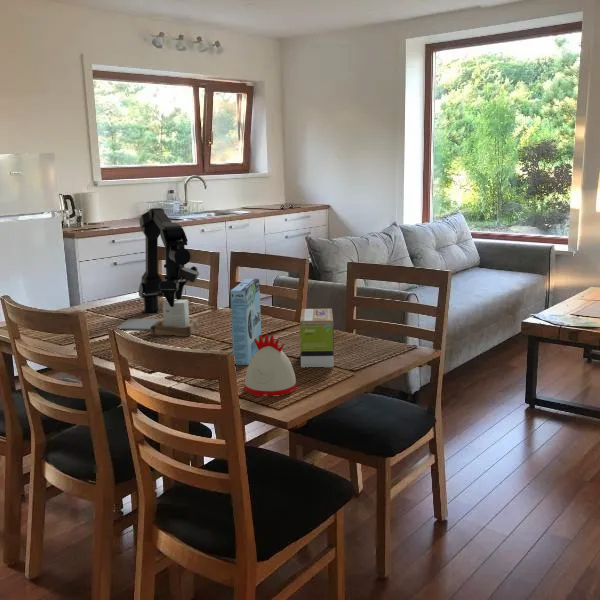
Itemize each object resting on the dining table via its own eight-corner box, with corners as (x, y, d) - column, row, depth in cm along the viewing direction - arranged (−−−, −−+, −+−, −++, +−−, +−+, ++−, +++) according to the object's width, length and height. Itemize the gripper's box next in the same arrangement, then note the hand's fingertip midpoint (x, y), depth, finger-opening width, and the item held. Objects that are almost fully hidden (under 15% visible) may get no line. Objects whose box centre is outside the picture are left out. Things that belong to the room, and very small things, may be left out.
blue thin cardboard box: (248, 366, 199) (246, 291, 194) (231, 365, 200) (229, 290, 195) (262, 347, 218) (260, 278, 213) (247, 346, 219) (245, 278, 214)
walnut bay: (163, 324, 247) (162, 316, 247) (200, 325, 246) (199, 317, 245) (150, 335, 233) (150, 327, 233) (190, 335, 232) (189, 327, 231)
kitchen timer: (255, 377, 189) (254, 326, 186) (302, 381, 185) (301, 329, 182) (237, 394, 176) (235, 339, 173) (286, 399, 172) (285, 343, 169)
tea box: (301, 353, 211) (301, 307, 208) (333, 353, 211) (333, 307, 208) (300, 368, 197) (299, 319, 194) (334, 368, 196) (334, 319, 193)
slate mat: (129, 320, 255) (129, 318, 254) (165, 320, 253) (165, 319, 253) (116, 329, 241) (116, 328, 241) (153, 330, 240) (153, 328, 240)
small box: (190, 327, 243) (188, 299, 241) (185, 331, 238) (184, 302, 235) (168, 327, 244) (167, 299, 242) (164, 331, 239) (162, 302, 236)
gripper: (189, 265, 226) (191, 310, 229) (202, 256, 244) (203, 298, 247) (157, 265, 227) (159, 310, 230) (172, 256, 245) (174, 298, 248)
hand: (175, 303), depth 239 cm, fingers open, 9 cm apart
